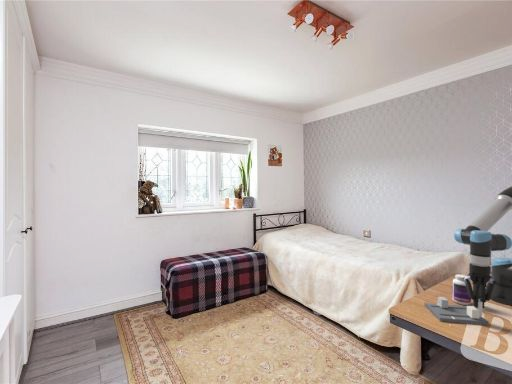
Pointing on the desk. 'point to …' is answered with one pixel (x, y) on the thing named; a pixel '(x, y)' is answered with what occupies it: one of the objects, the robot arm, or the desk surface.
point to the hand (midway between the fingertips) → (478, 314)
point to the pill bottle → (460, 291)
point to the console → (454, 314)
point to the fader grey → (442, 302)
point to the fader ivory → (473, 312)
